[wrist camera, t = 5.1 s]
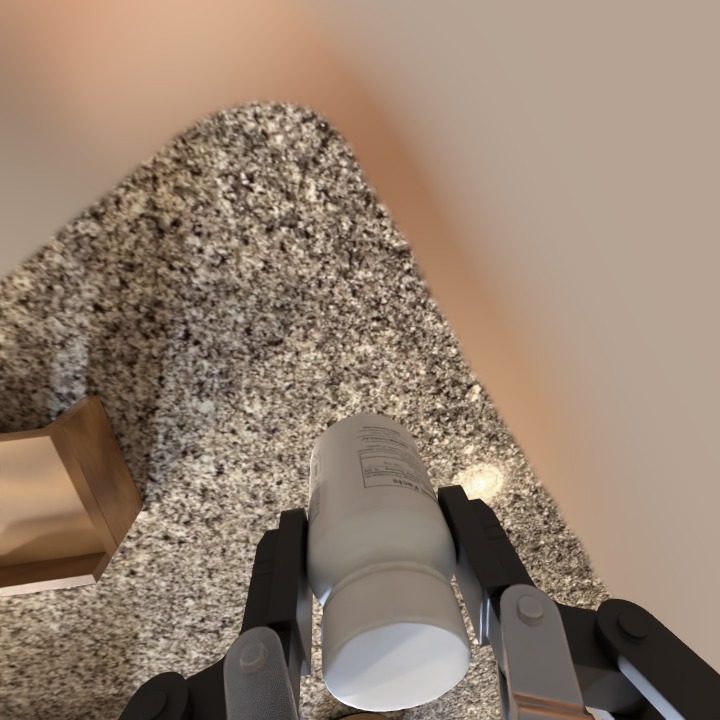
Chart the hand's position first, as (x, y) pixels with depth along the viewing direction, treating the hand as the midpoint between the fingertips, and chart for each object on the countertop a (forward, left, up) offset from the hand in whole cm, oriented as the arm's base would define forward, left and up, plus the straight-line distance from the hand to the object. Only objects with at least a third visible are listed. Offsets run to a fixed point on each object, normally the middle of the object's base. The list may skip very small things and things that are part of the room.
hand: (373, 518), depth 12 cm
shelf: (+9, -26, -20) cm, 34 cm away
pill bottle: (0, 0, -4) cm, 4 cm away
